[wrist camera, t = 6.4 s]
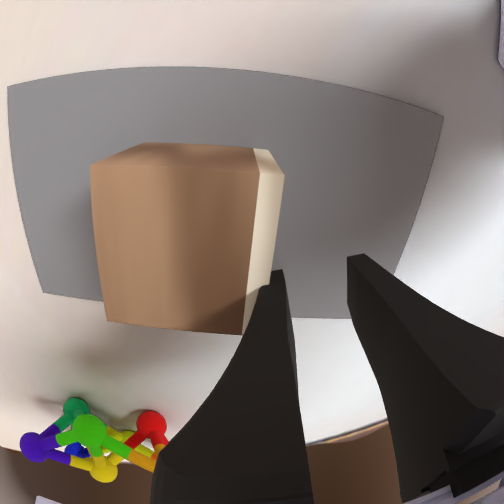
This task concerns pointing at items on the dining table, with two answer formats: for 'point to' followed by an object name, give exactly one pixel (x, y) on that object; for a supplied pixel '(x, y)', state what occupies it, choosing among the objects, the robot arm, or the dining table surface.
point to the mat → (226, 134)
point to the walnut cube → (185, 233)
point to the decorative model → (96, 442)
